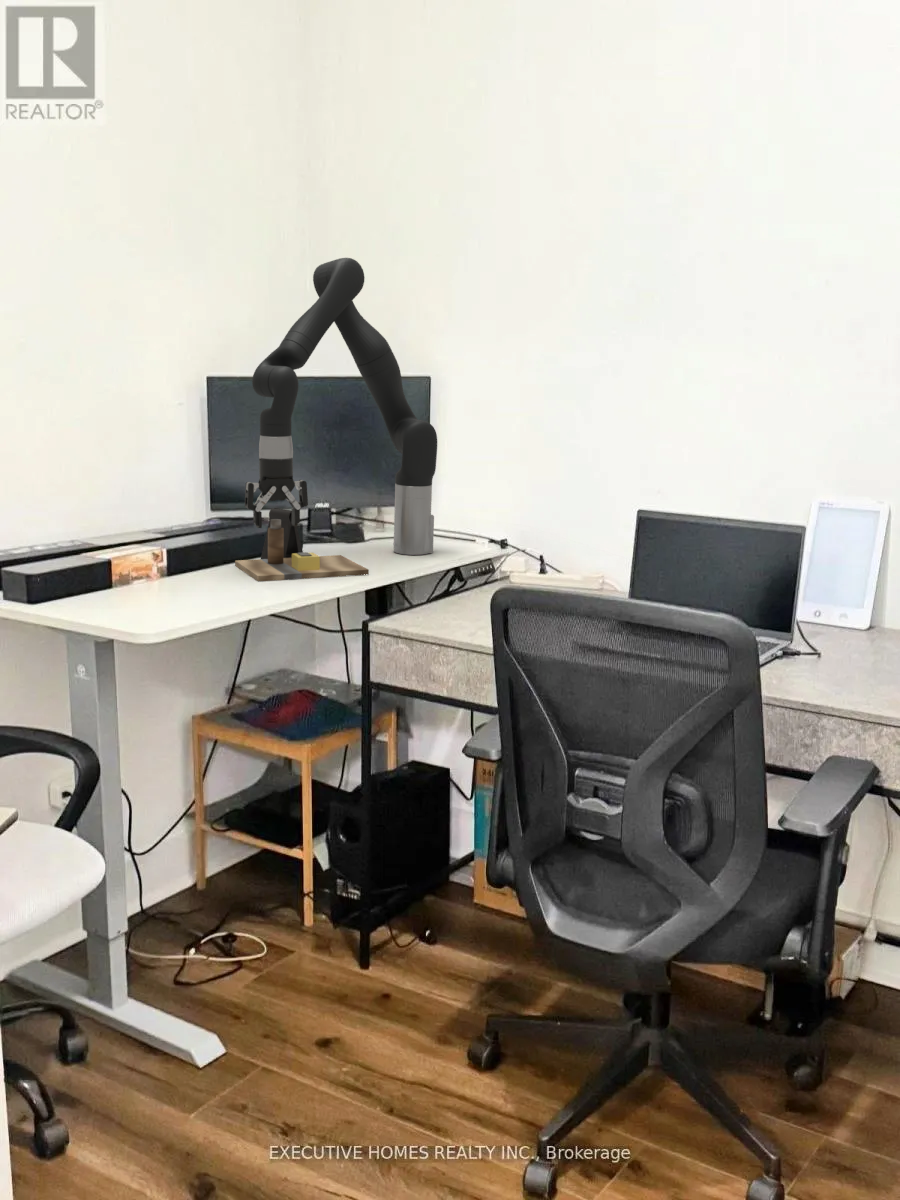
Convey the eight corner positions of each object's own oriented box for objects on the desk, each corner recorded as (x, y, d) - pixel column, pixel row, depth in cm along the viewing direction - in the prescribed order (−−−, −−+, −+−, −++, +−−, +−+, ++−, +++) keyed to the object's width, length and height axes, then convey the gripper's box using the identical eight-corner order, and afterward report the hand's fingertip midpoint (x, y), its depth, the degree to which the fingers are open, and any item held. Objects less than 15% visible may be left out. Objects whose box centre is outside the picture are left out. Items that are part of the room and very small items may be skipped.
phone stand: (279, 563, 275) (280, 512, 272) (260, 560, 278) (260, 510, 275) (304, 558, 282) (304, 508, 280) (284, 554, 286) (285, 506, 283)
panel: (340, 560, 282) (340, 555, 281) (368, 574, 266) (368, 569, 266) (235, 565, 270) (235, 560, 270) (257, 581, 255) (257, 575, 254)
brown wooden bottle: (280, 560, 272) (280, 518, 269) (285, 563, 268) (285, 520, 266) (265, 561, 270) (265, 518, 268) (270, 564, 267) (270, 521, 265)
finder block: (312, 565, 268) (312, 551, 267) (319, 569, 263) (319, 555, 263) (291, 566, 266) (291, 552, 265) (298, 570, 261) (298, 556, 261)
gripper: (300, 453, 270) (300, 522, 273) (240, 454, 264) (241, 525, 267) (311, 456, 263) (311, 527, 267) (250, 458, 257) (251, 530, 261)
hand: (276, 526), depth 267 cm, fingers open, 8 cm apart
